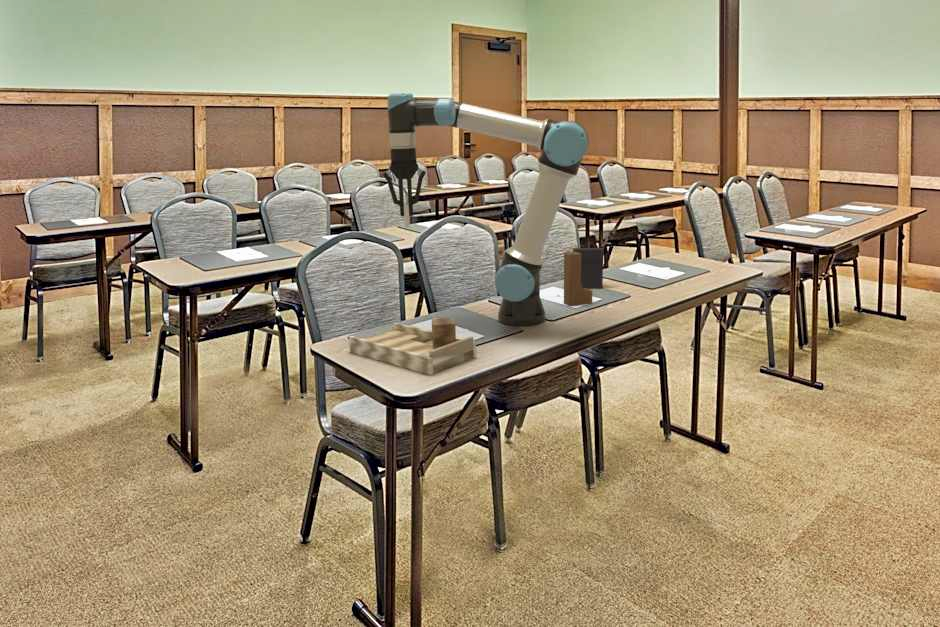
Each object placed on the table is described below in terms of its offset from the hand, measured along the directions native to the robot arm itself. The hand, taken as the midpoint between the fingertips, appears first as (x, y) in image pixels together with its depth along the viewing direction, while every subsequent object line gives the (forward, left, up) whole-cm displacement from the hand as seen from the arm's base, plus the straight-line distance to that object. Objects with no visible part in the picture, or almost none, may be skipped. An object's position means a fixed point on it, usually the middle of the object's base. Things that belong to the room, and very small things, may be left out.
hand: (407, 227), depth 231 cm
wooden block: (-57, -23, -32) cm, 70 cm away
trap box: (0, +26, -32) cm, 41 cm away
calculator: (-65, -45, -32) cm, 86 cm away
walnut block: (-9, +30, -30) cm, 43 cm away
